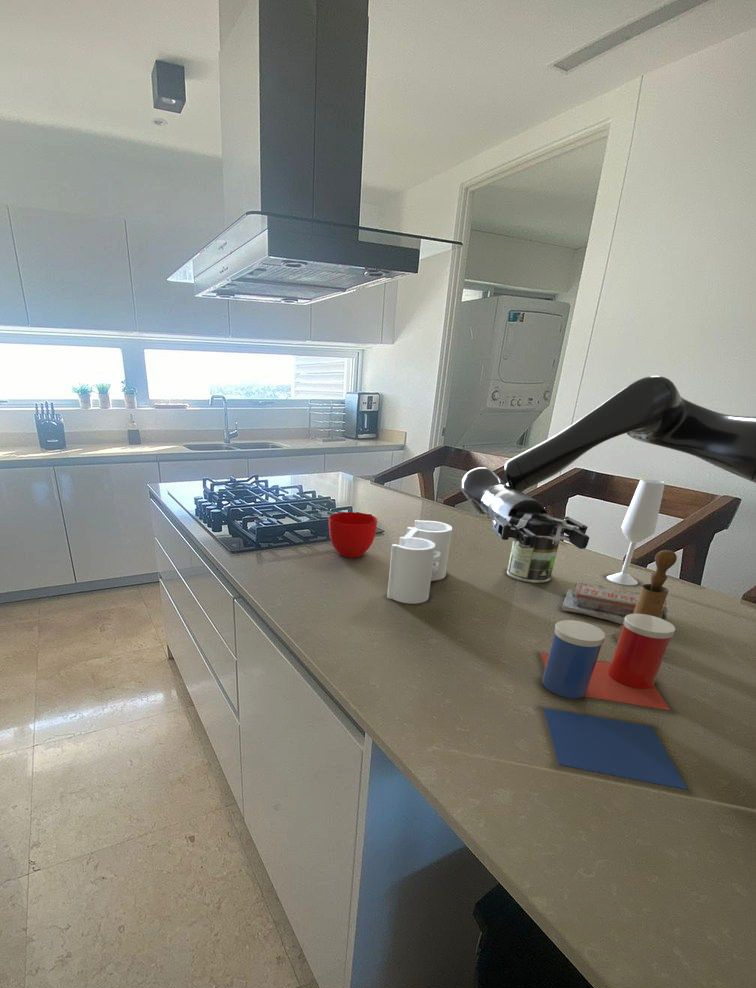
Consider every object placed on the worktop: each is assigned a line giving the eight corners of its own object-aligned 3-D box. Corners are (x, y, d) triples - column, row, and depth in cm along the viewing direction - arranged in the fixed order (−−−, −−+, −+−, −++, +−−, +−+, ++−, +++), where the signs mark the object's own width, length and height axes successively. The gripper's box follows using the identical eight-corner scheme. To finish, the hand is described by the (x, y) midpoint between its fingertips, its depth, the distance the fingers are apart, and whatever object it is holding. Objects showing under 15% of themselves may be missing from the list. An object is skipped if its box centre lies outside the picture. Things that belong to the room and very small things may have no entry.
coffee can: (553, 573, 122) (566, 518, 117) (547, 586, 114) (561, 528, 109) (510, 565, 127) (521, 512, 122) (502, 577, 119) (513, 521, 113)
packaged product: (668, 593, 99) (671, 611, 92) (661, 615, 101) (663, 634, 94) (571, 575, 108) (566, 590, 100) (566, 595, 110) (560, 611, 102)
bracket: (426, 607, 103) (433, 553, 98) (382, 598, 106) (387, 545, 101) (449, 570, 123) (456, 523, 118) (411, 563, 127) (416, 518, 122)
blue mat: (651, 727, 68) (651, 726, 68) (687, 791, 57) (687, 789, 57) (543, 709, 71) (543, 707, 71) (558, 766, 61) (558, 764, 61)
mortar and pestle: (619, 647, 88) (650, 553, 81) (613, 632, 94) (641, 542, 86) (661, 654, 86) (697, 559, 79) (653, 638, 92) (685, 547, 84)
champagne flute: (643, 581, 118) (675, 482, 108) (630, 587, 115) (662, 485, 105) (614, 573, 123) (643, 477, 114) (601, 578, 120) (629, 480, 110)
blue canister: (582, 678, 78) (598, 623, 74) (592, 702, 73) (610, 643, 68) (538, 671, 80) (552, 617, 76) (544, 694, 74) (560, 637, 70)
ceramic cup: (384, 546, 140) (387, 512, 136) (366, 564, 126) (368, 527, 122) (341, 540, 145) (343, 507, 141) (320, 557, 131) (321, 520, 126)
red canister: (646, 670, 81) (665, 616, 77) (661, 692, 75) (683, 635, 71) (602, 663, 83) (619, 611, 78) (613, 685, 77) (632, 629, 73)
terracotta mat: (642, 669, 82) (642, 667, 82) (670, 711, 71) (670, 710, 71) (540, 654, 86) (540, 653, 86) (551, 692, 75) (552, 691, 75)
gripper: (482, 492, 89) (521, 519, 75) (557, 494, 90) (610, 520, 76) (474, 531, 93) (510, 564, 78) (547, 532, 94) (595, 565, 79)
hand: (559, 542), depth 77 cm, fingers open, 8 cm apart
